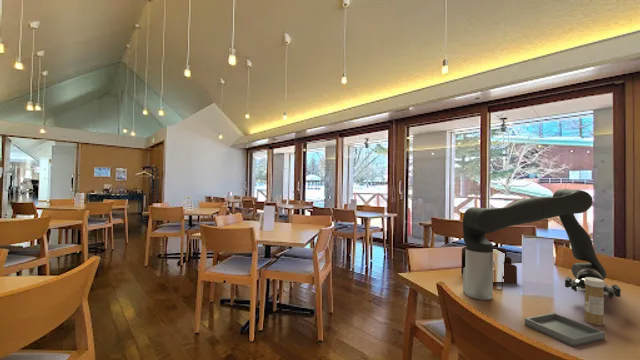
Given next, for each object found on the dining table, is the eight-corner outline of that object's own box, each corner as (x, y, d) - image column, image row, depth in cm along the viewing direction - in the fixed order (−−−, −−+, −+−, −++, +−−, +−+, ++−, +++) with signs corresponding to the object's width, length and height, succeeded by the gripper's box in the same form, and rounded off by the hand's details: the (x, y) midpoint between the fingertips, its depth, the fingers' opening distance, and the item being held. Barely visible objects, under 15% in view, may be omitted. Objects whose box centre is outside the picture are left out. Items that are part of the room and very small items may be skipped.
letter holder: (460, 274, 141) (461, 244, 141) (505, 277, 139) (505, 246, 139) (469, 281, 131) (469, 249, 131) (517, 284, 129) (517, 251, 129)
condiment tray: (524, 324, 90) (524, 318, 90) (554, 319, 94) (554, 312, 95) (573, 347, 78) (574, 339, 78) (604, 339, 82) (604, 332, 82)
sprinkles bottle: (584, 318, 96) (584, 275, 96) (604, 322, 93) (604, 279, 93) (583, 322, 92) (584, 278, 93) (604, 327, 89) (604, 282, 90)
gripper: (565, 266, 117) (564, 275, 104) (616, 274, 108) (622, 285, 95) (565, 286, 117) (564, 297, 104) (616, 295, 107) (622, 309, 95)
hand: (592, 291), depth 100 cm, fingers open, 8 cm apart
